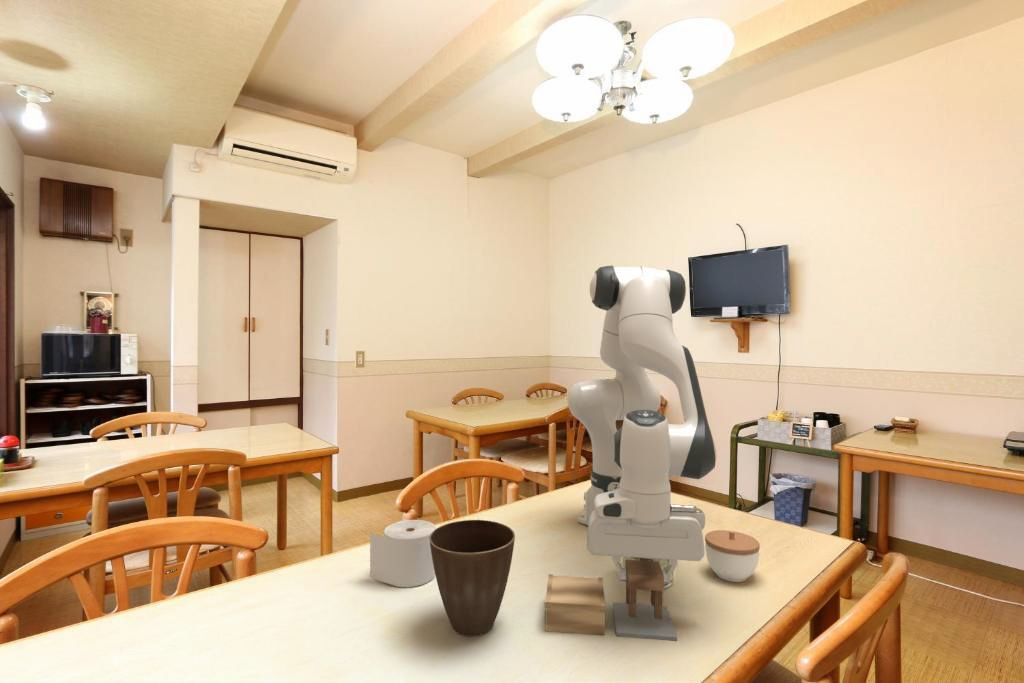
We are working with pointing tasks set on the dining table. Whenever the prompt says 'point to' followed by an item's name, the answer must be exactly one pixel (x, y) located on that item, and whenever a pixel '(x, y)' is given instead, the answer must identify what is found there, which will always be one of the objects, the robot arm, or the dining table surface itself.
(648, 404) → the robot arm
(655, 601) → the tan pegged block
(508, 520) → the dining table surface
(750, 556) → the lidded jar
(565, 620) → the tan wooden pedestal
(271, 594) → the dining table surface
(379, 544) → the toilet tissue
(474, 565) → the plant pot
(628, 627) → the mat
